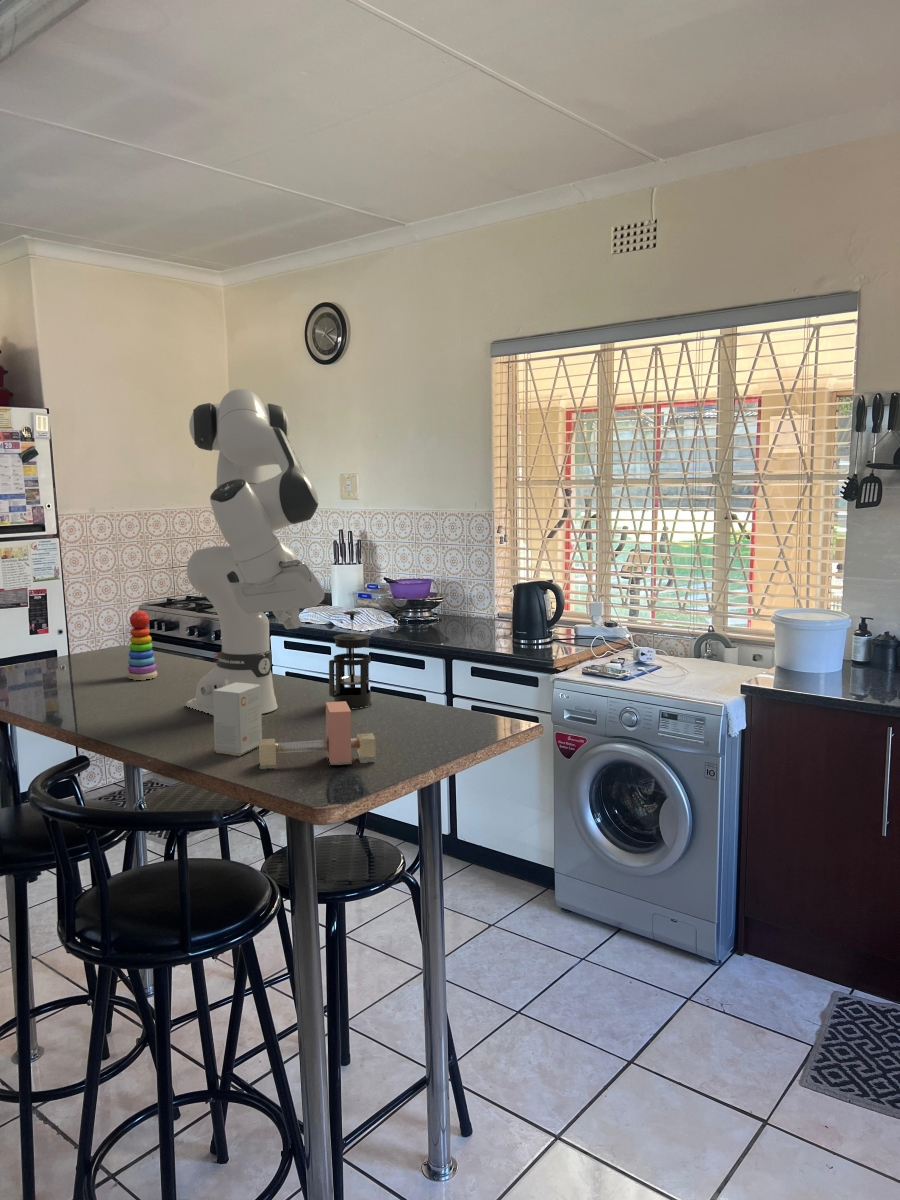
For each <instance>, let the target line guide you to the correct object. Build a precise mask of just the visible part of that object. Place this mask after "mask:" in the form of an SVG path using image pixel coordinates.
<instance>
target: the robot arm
mask: <svg viewBox="0 0 900 1200" xmlns="http://www.w3.org/2000/svg"><path fill="white" fill-rule="evenodd" d="M289 420H290V419H289V418H288V415H287V412H286V410H285V408H283V407H282V405H281V406H280V405H278V404H275V403H267V404H264V403H263V402H262V400H261V398H260V397H259V396H258V395H257V394H256V393H255V392H253V391H252V390H250V389H249V390H248V389H245V388H236V389H233V390H230V391H229V392H227V393H226V394H225V395H224V396H223V397H222V398H221V400H220V403H213V404H212V403H210V402H208V403H201V404H199V405H196V407H195V408H194V409H193V412H192V413H191V415H190V418H189V425H188V426H189V433H190V436H191V439H192V440H193V441H194V444H195V446H196V447H197V448H199V449H201V450H205V451H209V452H210V451H211V452H212V451H213V450H214V451H219V453H218V456H217V457H218V458H217V466H216V488H215V489H214V490H213V492H212V493H211V494H210V496H209V501H210V505H211V509H212V512H213V515H214V517H215V520H216V522H217V526H218V527H219V530H220V532H221V534H222V537H223V538H224V540H225V542H226V543H228V544H229V546H228V545H226V546H223V545H220V546H219V545H217V546H210V547H205V548H200V549H197V550H195V551H193V553H192V554H191V555H190V556H189V558H188V561H187V565H186V576H187V579H188V581H189V583H190V584H191V586H192V587H193V588H194V590H196V591H197V592H199V593H200V594H201V595H203V596H204V597H205V598H206V600H208V601H209V602H210V603H211V605H212V607H213V608H214V609H215V611H216V614H217V616H218V619H219V625H220V626H219V627H220V635H221V651H220V652H216V653H213V654H212V655H213V656H214V655H215V656H214V657H213V659H217V662H216V666H214V667H213V668H212V669H211V670H210V671H209V672H208V673H207V674H205V675H204V676H203V677H201V678H200V679H199V680H198V682H197V685H196V690H195V698H192V699H190V700H188V701H186V702H185V707H186V706H187V708H189V707H190V709H192V708H193V709H192V710H195V709H196V710H195V711H198V710H199V712H201V711H203V712H202V713H204V712H205V714H207V713H209V715H211V716H214V715H213V690H216V689H219V688H221V687H224V686H227V685H230V684H233V683H235V682H237V683H249V684H257V685H261V715H263V714H266V713H271V712H273V711H275V710H277V709H278V703H277V697H276V695H275V690H274V682H273V675H272V674H273V673H272V670H271V668H272V665H273V660H272V659H273V655H272V650H271V649H270V646H271V645H270V620H269V618H268V616H267V615H266V614H265V613H266V612H271V613H272V614H273V616H274V617H276V619H278V620H279V621H280V622H281V623H282V624H283V626H284V629H286V630H290V629H291V630H293V629H299V628H300V627H301V626H302V621H301V619H300V609H308V608H315V607H317V606H318V605H319V604H320V603H322V601H323V600H325V590H324V589H323V586H322V585H321V583H320V582H319V580H318V578H317V576H316V575H315V574H314V572H313V571H312V570H311V569H310V567H309V566H308V564H307V563H304V562H303V561H301V560H299V558H298V556H297V554H296V553H295V552H294V551H293V550H292V549H291V548H290V547H288V546H287V545H286V544H285V543H283V542H282V541H281V540H280V539H279V538H278V536H277V535H276V533H275V532H276V531H279V530H281V529H283V528H286V527H289V526H292V525H296V524H299V523H303V522H307V521H310V520H311V519H312V518H313V516H314V515H315V513H316V511H317V509H318V507H319V499H318V497H319V496H318V494H317V490H316V489H315V487H314V484H313V482H312V481H311V480H310V478H309V477H308V476H307V475H306V473H305V471H304V469H303V466H302V465H301V463H300V460H299V458H298V456H297V454H296V452H295V450H294V449H293V446H292V444H291V442H290V440H289V439H288V438H289V435H290V429H291V428H290V427H291V426H290V421H289ZM269 465H270V466H271V465H279V468H280V471H281V472H280V473H278V474H277V475H275V476H273V477H271V478H268V479H265V476H264V469H263V468H264V466H269Z"/></svg>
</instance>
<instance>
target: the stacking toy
mask: <svg viewBox="0 0 900 1200" xmlns="http://www.w3.org/2000/svg"><path fill="white" fill-rule="evenodd" d="M149 623H150V616H149V614H148V613H147V612H145V611H143V610H136V611H134V612H133V613H131V615H130V616H129V624H130V625H131V626H132V628H131V629H130V635H131V637H130V638H129V640H130V644H128V645H129V646H128V647H129V651H128V657H129V658H128V659H127V662H128V667H127V670H128V672H127V673H126V676H127V677H126V678H127V679H128V678H129V679H128V680H130V679H134V680H133V681H136V680H141V681H147V680H146V679H150V680H152V678H153V679H155V678H157V676H158V671H157V664H156V663H155V662H156V661H155V657H154V654H155V653H154V650H153V643H152V640H153V639H152V636H151V635H150V633H151V630H150V629H149V628H148V627H147V626H149Z"/></svg>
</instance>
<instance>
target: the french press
mask: <svg viewBox="0 0 900 1200" xmlns="http://www.w3.org/2000/svg"><path fill="white" fill-rule="evenodd" d="M343 614H344V615H348V616H349V618H350V619H349V620H350V621H351V622H350V623H351V626H350V627H351V628H350V629H351V631H350V632H351V633H341V634H337V635H334V636H333V640H335V647H336V648H339V649H340V648H341V649H351V650H350V651H351V653H350V652H349V653H348V652H347V653H346V652H345V653H339V654H336V655H333V659H330V660H329V661H328V686H329V687H328V693H329V697H332V698H333V702H342V701H346V702H347V704H348V706H349V708H350V710H353V709H352V708H360V707H365V706H368V705H371V704H373V703H372V702H373V701H372V699H371V698H372V695H371V694H372V691H371V689H369V688H370V686H369V684H370V683H369V681H370V675H369V674H370V672H369V671H370V669H369V664H371V661H372V659H371V657H372V656H371V655H369V654H367V653H359V652H354V649H361V648H368V647H369V645H370V644H369V642H370V640H371V635H368V634H364V633H363V634H362V633H354V620H355V616H358V615H362V614H361V612H359V611H356V610H355V611H353V610H349V611H345V612H343ZM345 666H351V674H350V675H349V674H348V675H345V671H346V670H345V668H346V667H345ZM354 666H359V667H360V671H359V672H360V675H355V674H354ZM358 685H360V687H358ZM345 686H347V687H345ZM348 686H349V687H348ZM350 686H351V687H350ZM371 706H372V705H371Z"/></svg>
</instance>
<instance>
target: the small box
mask: <svg viewBox="0 0 900 1200" xmlns="http://www.w3.org/2000/svg"><path fill="white" fill-rule="evenodd" d="M212 716H213V735H214V736H213V738H214V740H213V741H214V744H213V745H214V751H215V750H221V751H228V752H235V753H243V752H245V751H247V750H250V749H252V748H254V747H256V746H258V745H259V739H263V728H262V727H263V726H262V725H263V724H262V723H263V722H262V721H263V720H262V719H263V718H262V717H263V716H262V714H261V685H257V684H249V683H237V682H235V683H233V684H230V685H227V686H224V687H221V688H219V689H216V690H213V715H212Z"/></svg>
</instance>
